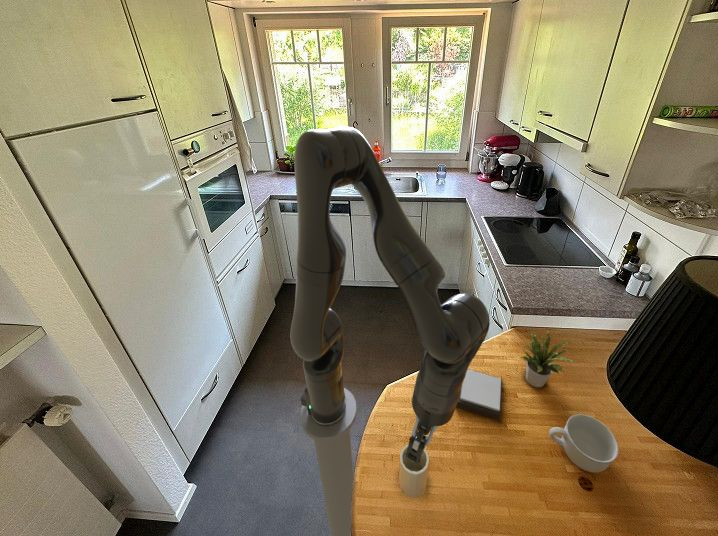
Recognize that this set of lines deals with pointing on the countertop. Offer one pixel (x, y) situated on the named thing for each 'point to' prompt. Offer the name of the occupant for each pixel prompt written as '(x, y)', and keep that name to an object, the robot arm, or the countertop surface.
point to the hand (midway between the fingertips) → (423, 436)
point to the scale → (481, 394)
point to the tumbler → (413, 474)
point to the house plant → (542, 361)
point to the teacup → (587, 442)
